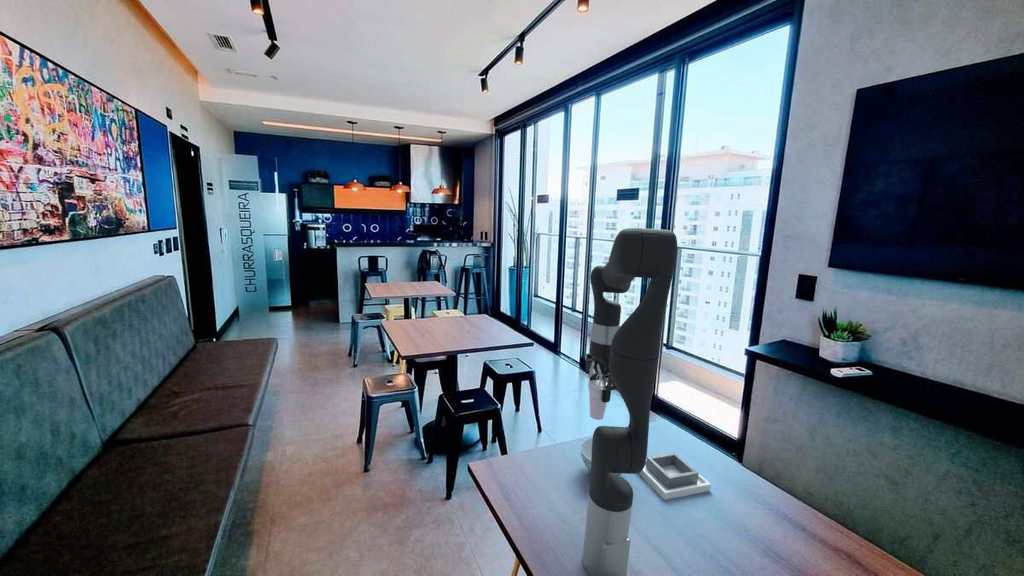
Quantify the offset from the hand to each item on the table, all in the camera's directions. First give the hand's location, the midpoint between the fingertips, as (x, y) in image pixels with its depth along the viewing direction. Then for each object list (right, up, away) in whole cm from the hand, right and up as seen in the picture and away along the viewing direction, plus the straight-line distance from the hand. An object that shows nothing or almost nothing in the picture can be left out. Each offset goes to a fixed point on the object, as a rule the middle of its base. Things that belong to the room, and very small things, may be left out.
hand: (598, 396), depth 113 cm
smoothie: (0, -6, +1) cm, 6 cm away
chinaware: (+4, -27, +10) cm, 29 cm away
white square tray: (+24, -28, +10) cm, 38 cm away
